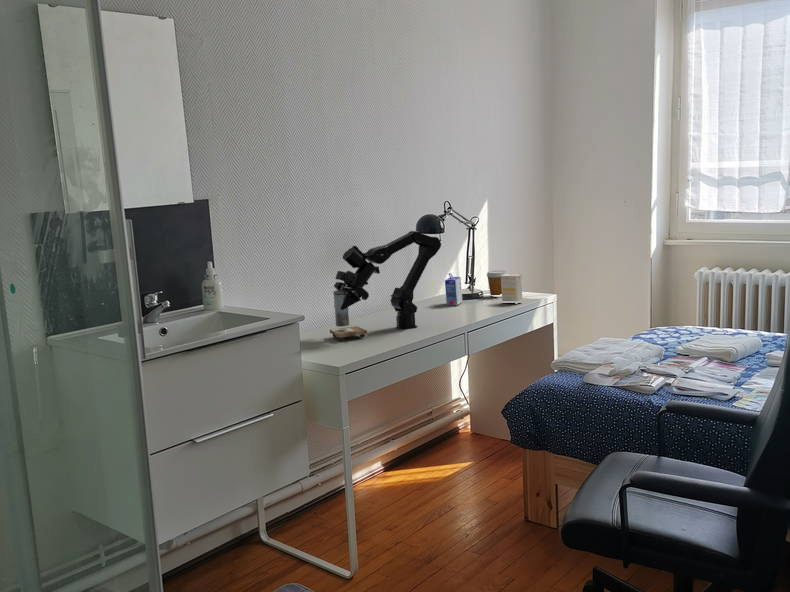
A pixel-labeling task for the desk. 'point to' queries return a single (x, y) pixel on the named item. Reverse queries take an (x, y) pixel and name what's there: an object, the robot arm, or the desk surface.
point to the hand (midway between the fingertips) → (338, 308)
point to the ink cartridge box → (453, 290)
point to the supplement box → (511, 287)
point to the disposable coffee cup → (495, 281)
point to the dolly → (348, 332)
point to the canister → (340, 315)
